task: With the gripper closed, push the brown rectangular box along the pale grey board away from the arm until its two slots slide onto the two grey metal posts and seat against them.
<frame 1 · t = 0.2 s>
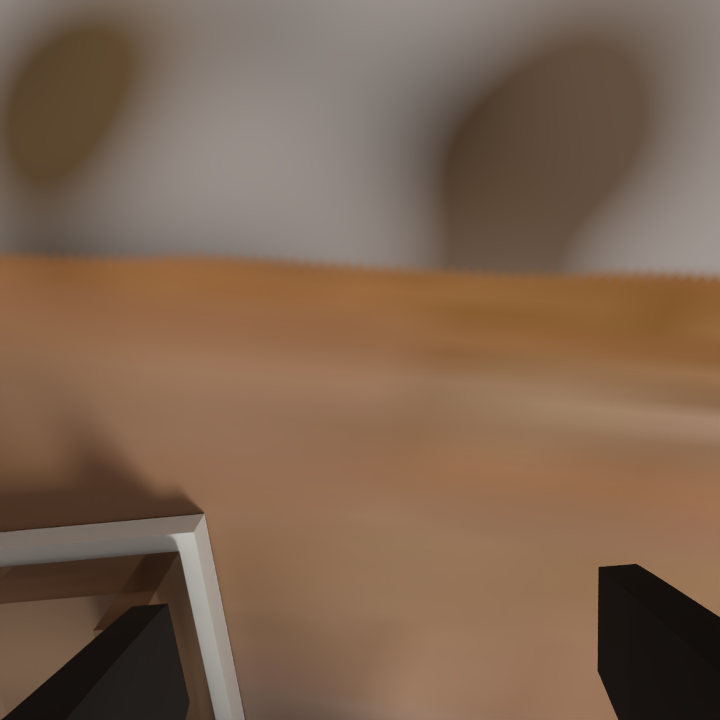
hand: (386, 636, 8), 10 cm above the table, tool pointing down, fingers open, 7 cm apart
board: (21, 695, 21), on the table
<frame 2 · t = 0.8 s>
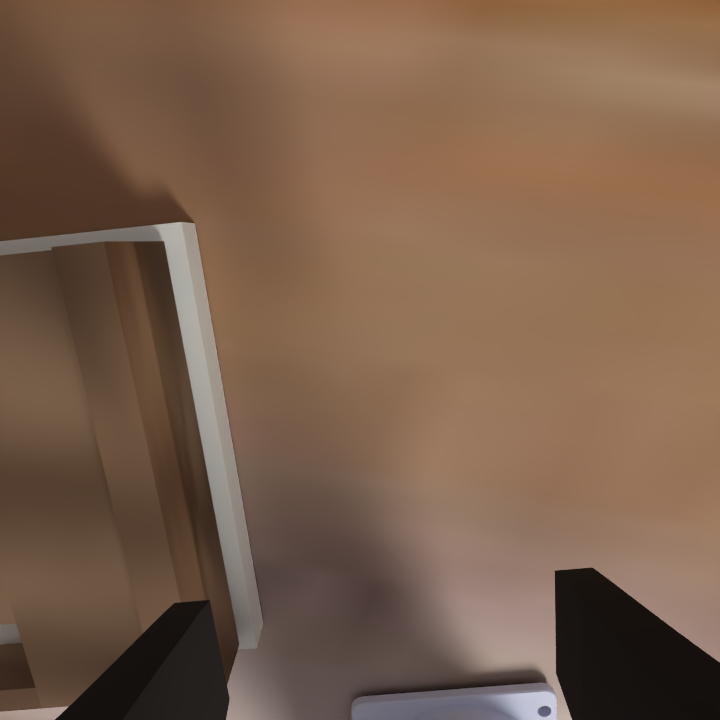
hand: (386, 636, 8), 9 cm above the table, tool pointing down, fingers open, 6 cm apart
brown rectangular box: (34, 502, 15), point 3 cm above the table, slide at 0.0 cm
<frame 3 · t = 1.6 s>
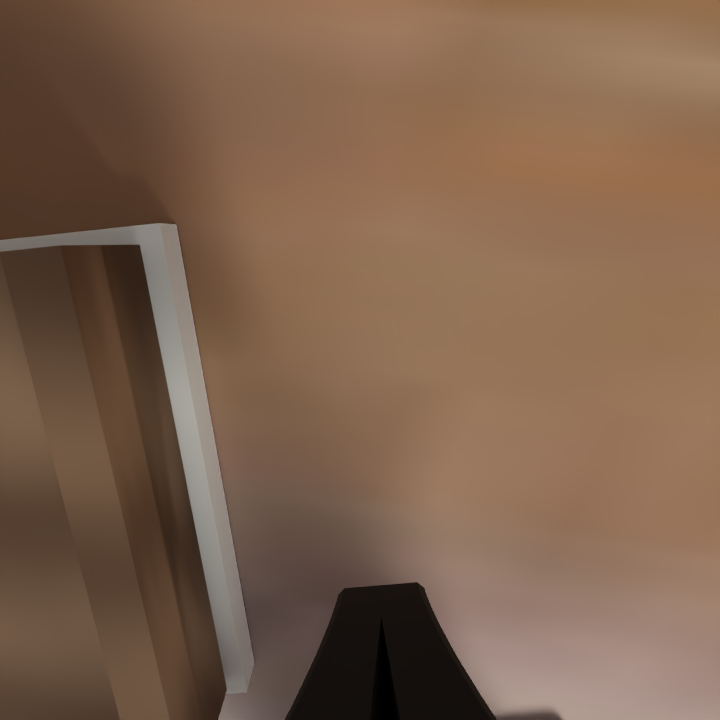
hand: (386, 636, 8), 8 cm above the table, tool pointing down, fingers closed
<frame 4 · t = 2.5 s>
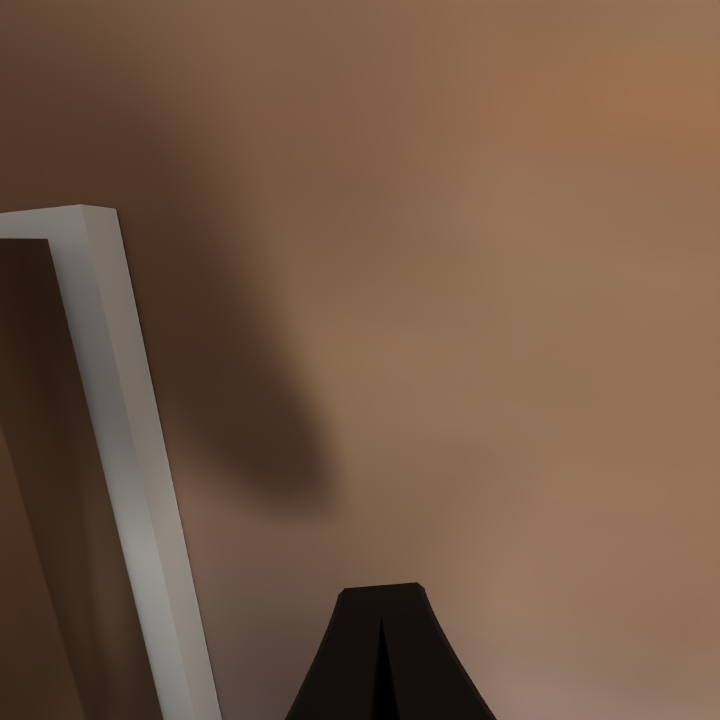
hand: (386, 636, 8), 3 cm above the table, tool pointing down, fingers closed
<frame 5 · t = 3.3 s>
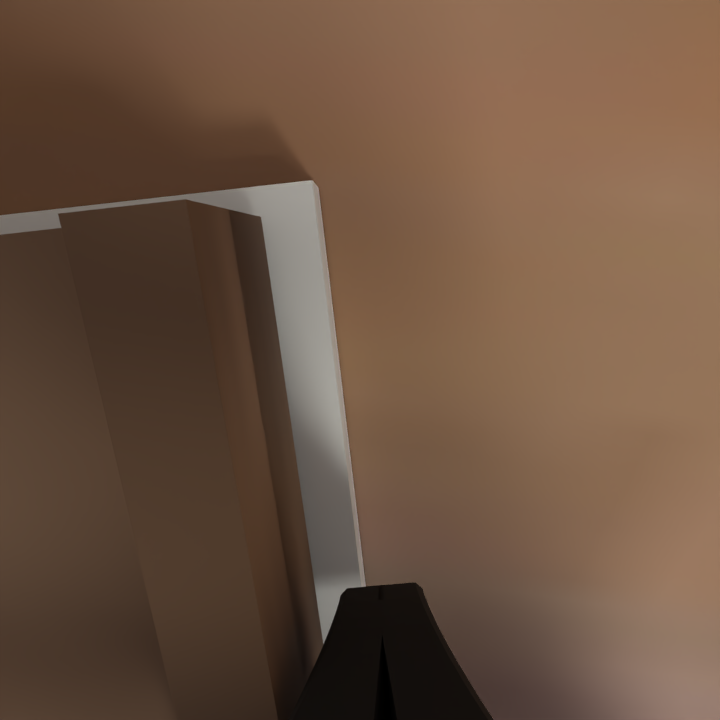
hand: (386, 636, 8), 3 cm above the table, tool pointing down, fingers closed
brown rectangular box: (27, 693, 8), point 3 cm above the table, slide at 0.4 cm, touching gripper
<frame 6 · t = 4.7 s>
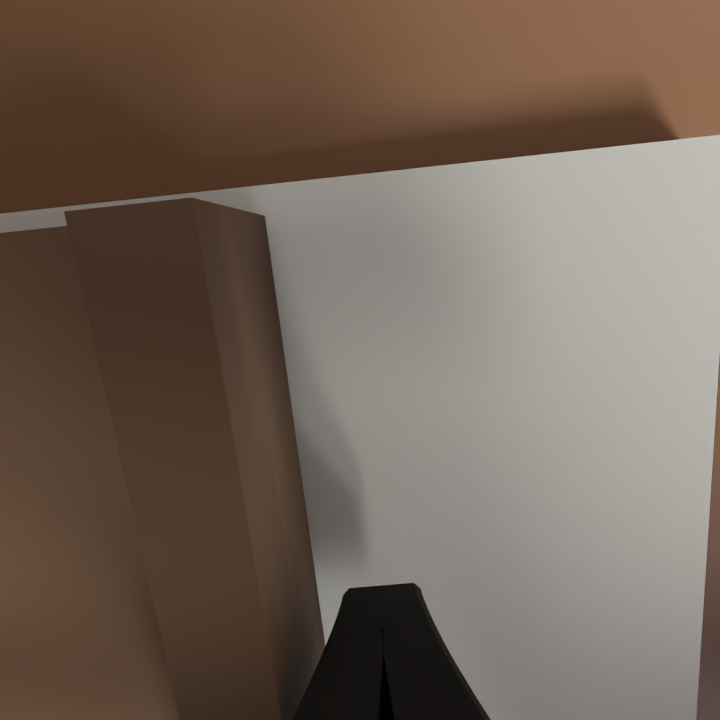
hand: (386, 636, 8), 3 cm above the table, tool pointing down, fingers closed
brown rectangular box: (29, 692, 8), point 3 cm above the table, slide at 7.0 cm, touching gripper
board: (257, 553, 11), on the table
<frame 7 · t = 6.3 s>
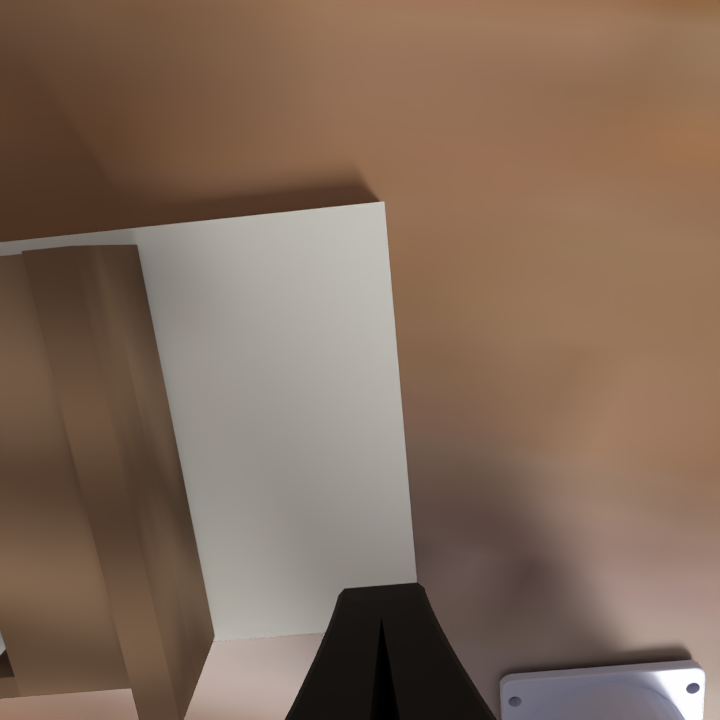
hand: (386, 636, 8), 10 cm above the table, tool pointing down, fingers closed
brown rectangular box: (12, 497, 15), point 3 cm above the table, slide at 7.0 cm
board: (154, 445, 18), on the table
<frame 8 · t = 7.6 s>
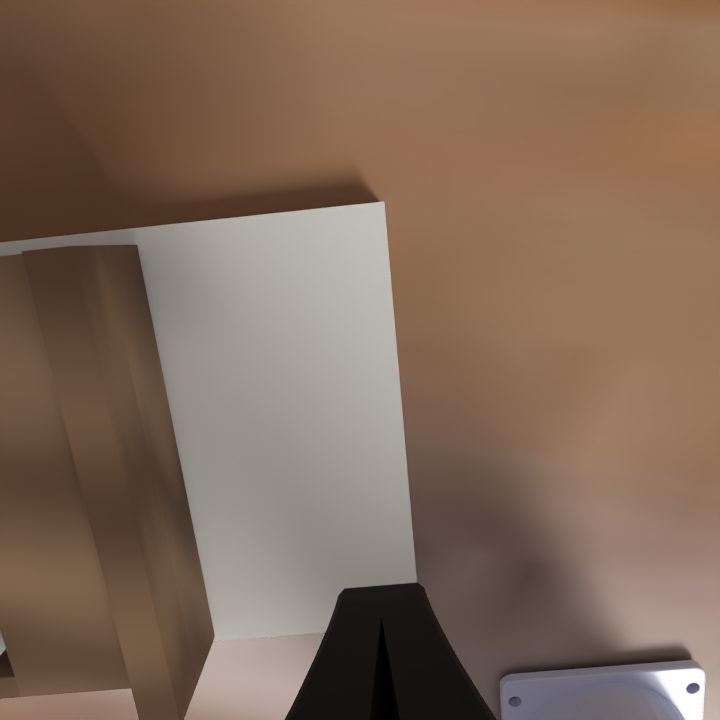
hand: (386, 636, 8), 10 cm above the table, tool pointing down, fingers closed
brown rectangular box: (12, 497, 15), point 3 cm above the table, slide at 7.0 cm
board: (154, 445, 18), on the table
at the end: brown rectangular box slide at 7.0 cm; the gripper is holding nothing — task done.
